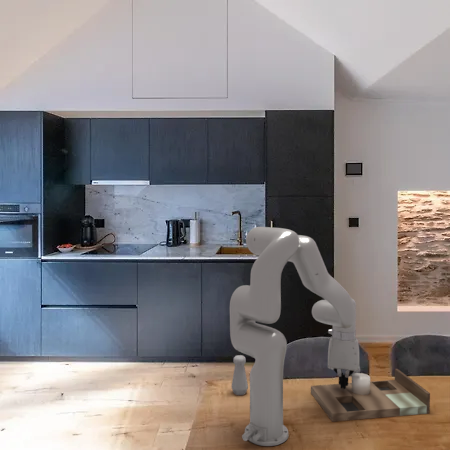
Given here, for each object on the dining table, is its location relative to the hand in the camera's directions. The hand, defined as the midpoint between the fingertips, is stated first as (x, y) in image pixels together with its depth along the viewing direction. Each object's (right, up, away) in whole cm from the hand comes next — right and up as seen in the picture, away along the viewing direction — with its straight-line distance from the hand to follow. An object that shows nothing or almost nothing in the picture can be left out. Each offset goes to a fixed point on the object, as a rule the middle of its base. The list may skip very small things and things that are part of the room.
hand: (343, 386), depth 157 cm
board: (+7, -4, -4) cm, 9 cm away
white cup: (+5, -1, -1) cm, 6 cm away
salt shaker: (-35, -4, +4) cm, 36 cm away
